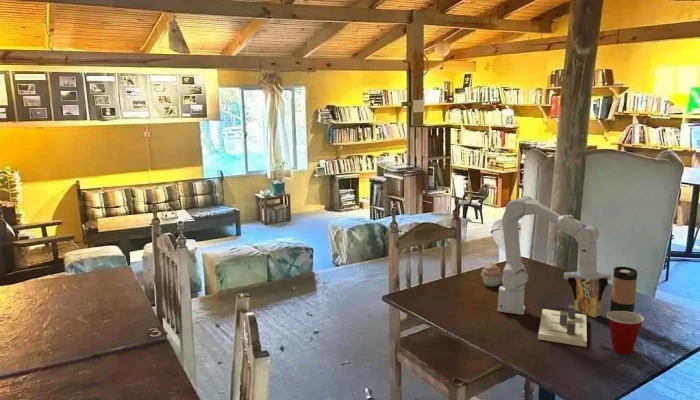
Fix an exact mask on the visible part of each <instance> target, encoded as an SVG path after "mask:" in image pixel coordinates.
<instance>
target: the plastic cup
mask: <svg viewBox="0 0 700 400" xmlns="http://www.w3.org/2000/svg"><path fill="white" fill-rule="evenodd" d="M605 315H606V318H607V321H608V324H609V333H610V339H611V348H612V350H613V351H614V352H616V353H618V354H622V355H630V354H632V353H633V351H634V348H635V345H636V343H637V338H638V336H639V333H640V329H641V326H642V323H643V322H644V321H645V317H644V316H642V315H641V314H639V313H636V312H634V311H633V312H627V311H611V312H610V311H608V312H606V314H605Z"/></svg>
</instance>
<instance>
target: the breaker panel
mask: <svg viewBox="0 0 700 400" xmlns="http://www.w3.org/2000/svg"><path fill="white" fill-rule="evenodd" d="M560 311H561V310H553V309H547V308H543V309H542V310H541V317H540V323H539V329H538V333H537V334H538V336H537V337H538V340H540V341H541V340H542V341H546V342H553V343H559V344H560V343H561V344H565V345H566V344H567V345H574V346H579V347H580V346H581V347H585V348H587V342H588V337H587V336H588V334H587V333H588V332H587V331H588V330H587V314H584V313H576V312H575V318H569V317H567V323H568V320H570V321H575V335H572V334H567V325H562V324H560Z"/></svg>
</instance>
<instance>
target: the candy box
mask: <svg viewBox="0 0 700 400" xmlns="http://www.w3.org/2000/svg"><path fill="white" fill-rule="evenodd" d="M576 283H577V286H576V294H577V300H574V304H573V305H574V306H576V310H575V312H579V313H580V314H584V315H586V316H589V317H592V318H597V317H599V316H601V315H602V306H603V305H602V304H603V297H602V298H601V301H599V300H598V279H576Z"/></svg>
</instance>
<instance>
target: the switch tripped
mask: <svg viewBox="0 0 700 400" xmlns="http://www.w3.org/2000/svg"><path fill="white" fill-rule="evenodd" d="M559 311H560V324H562V325H567V317H568V311H564V310H562V311H561V310H559Z"/></svg>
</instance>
